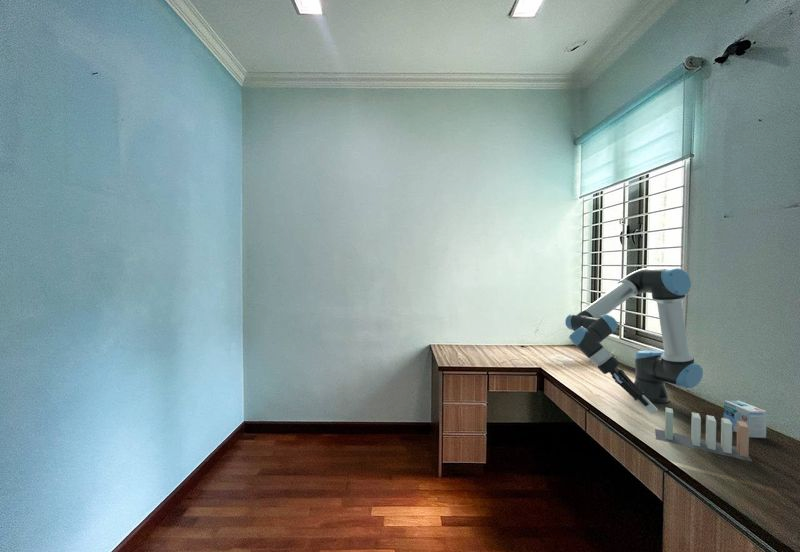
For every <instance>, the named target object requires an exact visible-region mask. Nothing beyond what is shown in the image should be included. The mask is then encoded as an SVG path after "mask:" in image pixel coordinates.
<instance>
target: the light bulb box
mask: <svg viewBox="0 0 800 552" xmlns="http://www.w3.org/2000/svg"><path fill="white" fill-rule="evenodd" d="M767 415H768V412H767V411H766V410H764V409H761V408H759V407H756V406H754V405H752V404H748V403H746V402H744V401H742V400H724V401H723V417H722V418H726V419H729V420H730V421H731V423H732V433H733V432H734V433H737V421H742V422H745V423H746V424H747V425H748V427H749V438H757V439H759V438H761V439H767V421H768V416H767Z"/></svg>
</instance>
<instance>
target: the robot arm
mask: <svg viewBox="0 0 800 552" xmlns="http://www.w3.org/2000/svg"><path fill="white" fill-rule="evenodd" d="M691 287H692V281H691V277H690V276H689V274H688V273H687V272H686V271H684V269H682V268H677V267H644V268H640V269H638V270H636V271H633V272H630V273H629V274H628V275H626V276H624V277H623V278H621V279H620V280H619V281H617V285H615V286H614V287H612V288H611V289H610V290H609V291H607V292H606V293H605V294H603V295H601V296H600V297H599V298H598V299H597V300H594V302H592V303H591V304H590V305H588V306H587V307H585V308H584V309H583V310H582V311H580V312H578V313H577V314H576V313H574V314H569V315H567V316H566V318H565V320H564V321H565V322H564V323H565V326H566V328H567V329H568V330H571V331H573V332H572V333H570V335H569V339H570V341H571V342H572V343H573V344H574V345H575V347H577V348H578V350H580V351H581V352H582V353H583V354H584V355H585V357H586V358H588V359H589V362H590V363H592V364H594V365H595V366H597V369H598V370H599V371H600V372H601V373H602V374H603V375H606V374H610V375H611V378H612V379H613V380H614V381H615V383H616V384H617V385H618V386H620V387H621V388H622V389H623V390H624V391H625V392H626V393H628V394H629V395H630V396H631V397H632V398H633V400H634V401H635V402H636V401H638V402H639V403H640V404H641V405H642V407H644V408H645V409H646V410H647V411H648V413H650V414H651V415H653V414H655V413H656V412H658V411H659V408H657V407H656V406H655V404H667V403H669V402H670V395H669V393H668V391H667V388H666V384H665V383H668V384H670V385H674V386H677V387H679V388H685V389H694V388H695V387H697V386H698V385H699V384H700V383H701V381H702V380H703V379H702V378H703V375H704V371H703V367H702V366H701V364H698V363H696V362H695V358H694V356H693V354H691V353H689V345H688V340H687V331H686V325H685V318H684V310H683V303H682V302H683V300H684V299H685V298H686V294H688V293H689V292H690V290H691V289H690V288H691ZM646 293H648V294H651V297H652V300H653V301H655V302H656V305H657V311H658V317H659V325H660V331H661V339H662V345H663V346H662V347H663V351H661V350H653V349H651V350H646V349H645V350H638V351H636V353H635V359H634V361H635V362H634V363H635V364H634V365H635V378H634V381H633V380H632V379H630V378H629V376H628V375H627V374H626V372H624V370H622V369H619V367H618V366H619V365H620V361H618V359H617V358H616V357H614V356H612V355H611V354H612V353H611V352H610V351H608V349H606V347H604V346H603V344H601V342H603V341H604V340H605V339H606V338H608V337H610V336H611V334H613V333H614V332H615V331H616V330H617V329H618V325H619V323H618V322H617V320H616V319H615V318H614V317H613V316H612V315H610V314H609V313H611V312H612V311H613V310H615V309H616V308H618V307H619V306H620V305H621V304H623V303H625V301H627V300H628V299H630V298H634V297H636V296H638V295H640V294H646ZM653 403H654V404H653Z"/></svg>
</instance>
